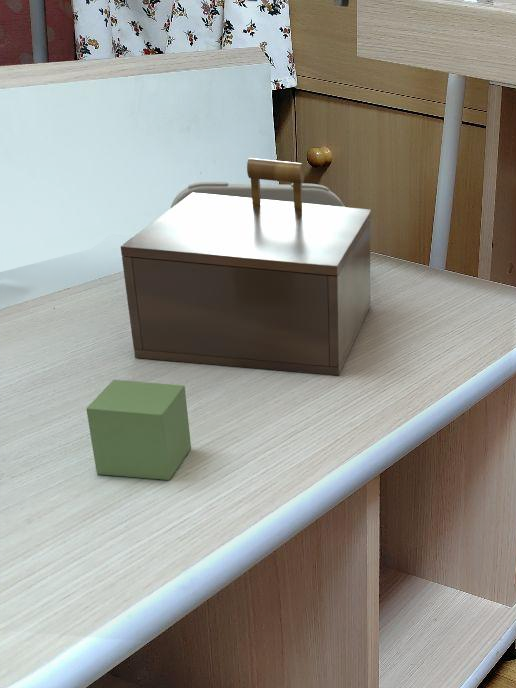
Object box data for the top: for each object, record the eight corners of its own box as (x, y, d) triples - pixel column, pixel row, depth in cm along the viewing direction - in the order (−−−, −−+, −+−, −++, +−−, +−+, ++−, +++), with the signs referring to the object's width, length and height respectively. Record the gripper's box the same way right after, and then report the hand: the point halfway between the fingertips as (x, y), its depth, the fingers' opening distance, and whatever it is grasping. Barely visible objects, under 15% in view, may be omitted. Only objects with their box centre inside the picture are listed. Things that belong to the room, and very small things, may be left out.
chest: (198, 291, 101) (190, 203, 97) (370, 307, 102) (370, 220, 97) (134, 357, 85) (121, 256, 81) (338, 375, 86) (337, 276, 82)
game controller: (347, 255, 117) (347, 182, 112) (351, 261, 115) (350, 187, 110) (173, 256, 110) (165, 178, 106) (173, 262, 108) (165, 183, 104)
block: (96, 474, 68) (85, 408, 65) (122, 442, 72) (113, 379, 70) (169, 480, 68) (162, 414, 66) (191, 448, 72) (185, 385, 70)
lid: (193, 200, 97) (188, 147, 95) (371, 217, 98) (372, 165, 96) (121, 256, 81) (113, 193, 78) (337, 276, 82) (336, 214, 79)
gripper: (354, -201, 88) (355, 3, 97) (191, -229, 82) (207, -6, 90) (387, -205, 83) (384, 12, 91) (215, -235, 76) (229, 2, 85)
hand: (296, 3), depth 91 cm, fingers open, 8 cm apart
